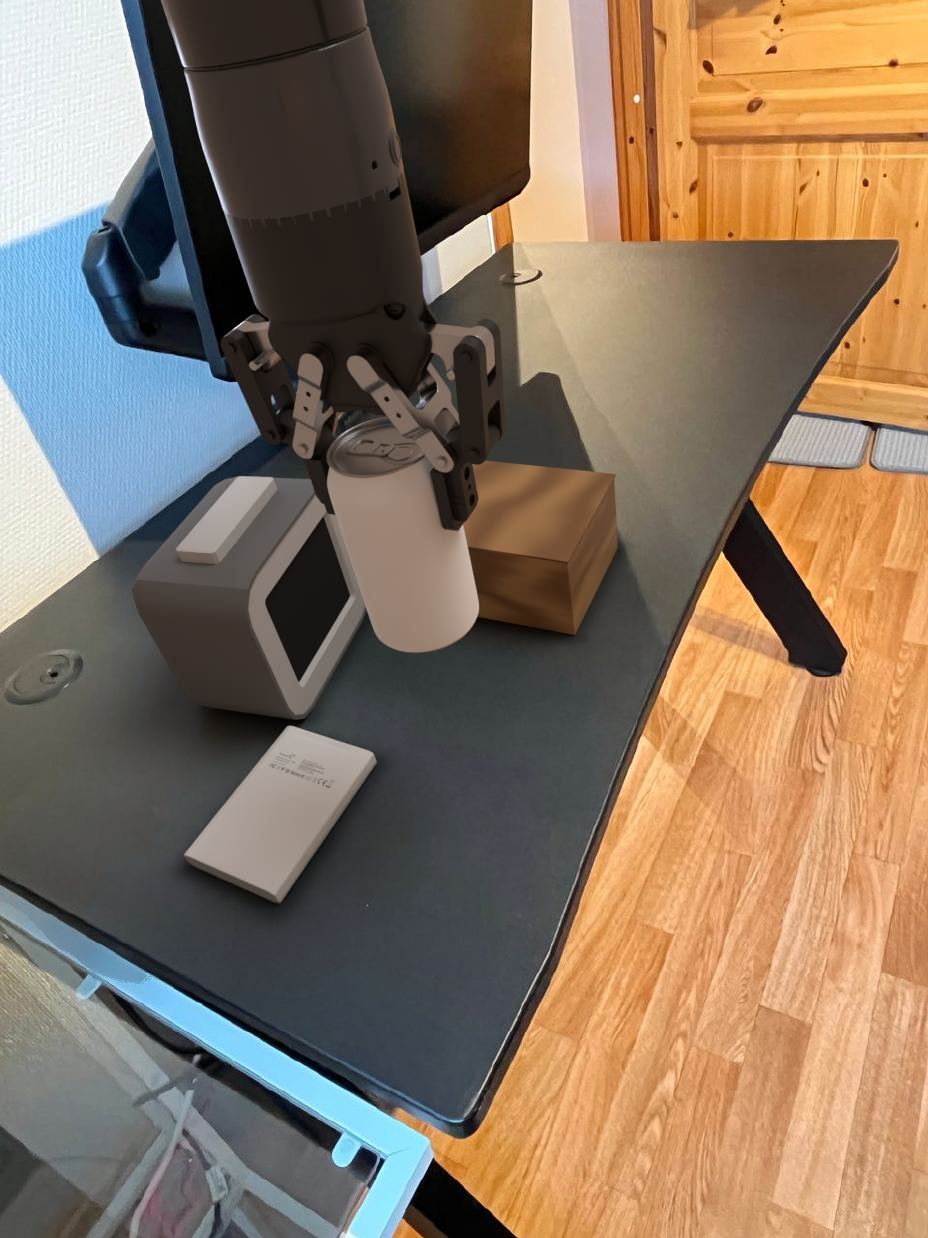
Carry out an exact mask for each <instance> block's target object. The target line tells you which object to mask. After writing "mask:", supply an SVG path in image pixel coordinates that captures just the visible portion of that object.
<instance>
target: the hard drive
mask: <svg viewBox="0 0 928 1238" xmlns="http://www.w3.org/2000/svg"><path fill="white" fill-rule="evenodd" d="M377 764H378V762H377V759H376V756H375V754H374V752H372V751H370V750H369V749H365V748H362V747H359V746H355V745H352V744H350V743H347V742H346V743H345V742H343V741H340V740H338V739H333V738H330V737H329V736H325V735H321V734H319V733H315V732H312V731H309V730H306V729H303V728H300V727H297V726H295V725H287V726H286V727H285V728H284V729H283V731H282V732H281V733H280V735H279V736H278V737H277V738H276V739H275V741H274V742H273V744H271V746H270V747H269V748H268V749H267V751H266V752H264V754H263V756H262V757H261V758H260V759H259V761H257V763H256V764H255V766H253V768H252V769H251V770H250V772H249V773H248V774H247V775H246V777H245V778H244V779H243V780H242V781H241V783H240V784H239V786H237V788H236V789H235V790H234V792H232V794H231V795H230V797H228V799H227V800H226V801H225V803H223V805H222V806H221V808H220V809H218V811H217V812H216V814H215V815H214V816H213V817H212V819H211V820H210V821H209V823H207V825H206V826H205V828H204V829H203V830H202V831H201V833H200V834H199V835H198V836H197V837H196V839H195V840H194V841H193V843H192V844H191V845H190V847H189V848H188V849H187V850H186V851H185V852H184V854H183V857H184V858H185V860H186V861H187V862H188V863H189V865H191V866H193V867H194V868H196V869H198V870H201V871H202V872H205V873H207V874H210V875H212V876H214V877H216V878H218V879H221V880H223V881H224V882H228V883H229V884H232V885H234V886H237V887H238V888H241V889H244V890H245V891H248V892H250V893H252V894H255V895H257V896H259V897H261V898H264V899H265V900H267V901H270V902H271V903H275V904H278V905H280V904H282V902H283V900H284V899H285V897H286V896H287V894H288V893H289V892H290V890H291V888H292V887H293V885H295V883H296V881H297V880H298V878H299V877H300V876H301V875H302V873H303V871H304V870H305V868H306V867H307V865H308V864H309V862H310V861H311V860H312V859H313V856H314V855H315V854H316V852H317V851H318V850H319V848H320V847H321V845H322V844H323V842H324V841H325V840H326V838H327V836H328V835H329V834H330V832H331V831H332V829H333V827H334V826H335V825H336V824H337V822H338V820H339V819H340V818H341V816H342V815H343V813H344V811H345V810H346V809H347V807H348V806H349V804H350V803H351V802H352V800H353V799H354V797H355V795H356V794H357V792H358V791H359V789H360V788H361V787H362V786H363V784H364V782H365V781H366V780H367V778H368V777H369V775H370V774H371V772H372V771H373V770H374V768H375V766H376V765H377Z"/></svg>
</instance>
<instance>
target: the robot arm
mask: <svg viewBox="0 0 928 1238" xmlns="http://www.w3.org/2000/svg"><path fill="white" fill-rule="evenodd" d="M160 2H161V4H162V5H161V6H162V8H163V11H164V14H165V17H166V20H167V24H168V27H169V29H170V32H171V35H172V37H173V41H174V45H175V47H176V50H177V53H178V57H179V60H180V62H181V64H182V66H183V67H184V69H183V73H184V76H185V79H186V83H187V87H188V91H189V95H190V99H191V105H192V109H193V110H192V111H193V116H194V120H195V124H196V128H197V129H196V130H197V132H198V137H199V140H200V143H201V147H202V151H203V153H204V156H205V160H206V163H207V166H208V169H209V172H210V174H211V178H212V181H213V183H214V187H215V190H216V192H217V195H218V198H219V201H220V205H221V208H222V211H223V213H224V216H225V220H226V222H227V225H228V228H229V231H230V235H231V237H232V241H233V243H234V246H235V249H236V252H237V255H238V258H239V261H240V264H241V267H242V270H243V273H244V276H245V278H246V282H247V285H248V288H249V290H250V291H249V292H250V293H251V296H252V300H253V302H254V305H255V307H256V309H257V310H258V312H259V313H260V314H261V315H262V316H263V317H262V316H261V315H260V314H256V313H255V314H251V315H250V316H248V317H247V318H246V319H245V320H243V321H242V322H241V323H240V324H238V325H236V327H234V328H233V329H231V331H229V332H227V334H225V335H224V336H223V337H221V339H220V347H221V350H222V352H223V354H224V357H225V358H226V361H227V363H228V365H229V367H230V369H231V372H232V374H233V376H234V378H235V381H236V383H237V385H238V387H239V389H240V392H241V394H242V396H243V398H244V400H245V403H246V405H247V407H248V409H249V411H250V414H251V416H252V418H253V421H254V423H255V425H256V428H257V429H258V431H259V433H260V436H261V437H262V439H263V440H264V442H266V443H267V444H269V445H271V446H278V445H279V444H280V443H283V444H286V445H287V446H290V447H292V449H293V451H294V452H295V454H296V455H297V456H299V457H300V458H302V460H303V461H304V465H305V467H306V470H307V473H308V476H309V479H311V482H312V485H313V486H314V487H313V488H314V491H315V494H316V496H317V498H318V499H319V501H320V502H321V503H322V504H324V505H325V508H326V511H327V513H328V514H332V515H335V512H334V509H333V505H332V502H331V499H330V495H329V492H328V487H327V477H328V472H329V467H330V466H329V465H328V463H327V459H326V454H327V450H328V448H329V446H330V445H331V443H332V442H333V441H334V440H335V439H336V438H337V437H334V434H335V433H336V431H337V428H338V424H339V419H340V415H341V413H347V414H348V413H351V412H355V411H363V412H365V413H368V414H372V415H376V416H385V417H388V418H389V420H390V421H391V422H392V424H393V425H394V426H395V428H396V429H397V430H398V432H399V433H400V434H401V435H402V436H403V437H404V438H411V439H413V440H414V441H415V443H416V444H417V445H418V447H419V448H420V449H421V451H422V452H423V453H424V455H425V456H426V457H427V459H428V460H429V461H430V463H431V464H432V465H433V467H434V468H433V469H432V470H431V472H430V474H431V479H432V483H433V488H434V492H435V496H436V501H437V505H438V510H439V514H440V519H441V523H442V527H443V529H445V530H453V531H458V530H459V529H460V528H461V526H462V525H463V523H464V522H466V521H467V519H468V518H469V516H470V515H471V513H472V512H473V510H474V509H475V507H476V506H477V502H478V499H479V498H478V492H477V489H476V488H477V487H476V483H475V476H474V471H473V465H472V464H475V465H479V464H482V463H483V462H484V461H487V459H488V457H489V455H490V452H491V451H492V450H493V448H494V447H495V445H497V444H498V442H499V441H500V440H501V439H502V437H503V436H504V434H505V433H506V420H505V419H506V417H505V416H506V415H505V399H504V379H503V377H504V376H503V360H502V359H503V358H502V338H501V330H500V327H499V326H498V324H497V323H496V322H495V321H494V320H492V319H490V318H482V319H479V320H478V321H477V322H476V323H475V325H473V327H467V326H458V325H450V324H441V323H440V322H439V320H438V318H437V316H436V315H435V314H434V312H433V311H432V309H431V307H430V306H429V304H428V302H427V300H426V298H425V294H424V273H423V272H424V270H423V269H424V268H423V261H422V256H421V250H420V246H419V240H418V236H417V229H416V225H415V220H414V216H413V215H414V214H413V210H412V204H411V199H410V194H409V189H408V184H407V178H406V175H405V174H406V173H405V169H404V164H403V158H402V156H403V155H402V154H403V152H402V145H401V140H400V136H399V135H398V133H397V127H396V123H395V117H394V112H393V108H392V103H391V98H390V94H389V90H388V87H387V83H386V81H385V77H384V74H383V70H382V68H381V65H380V61H379V59H378V55H377V52H376V48H375V46H374V42H373V38H372V34H371V29H370V27H369V26H368V18H367V12H366V7H365V3H364V2H365V1H364V0H160ZM265 318H266V319H268V321H267V320H266V319H265ZM435 355H436V356H438V357H439V358H440V359H441V360H442V362H443V363H444V367H445V370H446V372H445V377H446V379H448V380H449V381H452V382H455V391H456V392H455V393H456V402H457V403H456V404H457V409H456V408H455V406H454V405H453V403H452V392H451V390H450V388H449V387H448V385H447V384H446V382H445V380H444V379H443V378H442V377H441V375H440V374H439V372H438V371H437V370H436V368H435V367H434V366H433V364H432V362H431V361H432V360H433V358H434V356H435ZM286 365H287V366H288V367H289V368H290V369H291V370H292V371H293V372H294V374H296V375H297V377H298V382H297V389H295V386H294V384H293V382H292V381H293V380H292V379H291V377H290V374H289V372H288V369H287V367H286ZM416 391H417V392H418V395H419V402H418V403H417V404H416V406H414V405H413V404H412V402H411V401H410V398H411V397H413V395H414V394H415V392H416ZM272 398H273V400H274V402H275V404H276V407H277V409H278V410H276V409H275V406H274V404H273V401H272Z"/></svg>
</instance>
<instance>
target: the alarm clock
mask: <svg viewBox="0 0 928 1238" xmlns="http://www.w3.org/2000/svg"><path fill="white" fill-rule="evenodd" d="M313 487H314V486H313V485H312V482H311V479H310V478H291V477H290V478H287V477H284V478H283V477H272V476H252V475H251V476H245V475H239V476H233V477H229V478H225V479H223V480H221V481H220V482H218V483H216V484H214V485H213V487H212V488H211V489H210V490H209V491H208V492H207V493H206V494H205V495H204V497H203V498H202V499H201V500H200V501H199V502H198V504H197V505H196V506H194V508H193V509H192V511H190V512H189V513H188V515H187V516H186V517H185V518H184V520H183V521H182V522H181V523H180V524H179V525H178V526H177V527H176V528H175V530H173V532H172V533H171V534H170V535H169V536H168V537H167V538H166V540H165V541H164V542H163V543H162V545H160V547H159V548H158V549H157V550H156V551H155V552H154V553H153V555H151V557H150V558H149V559H148V560H147V561H146V563H145V564H144V565H143V566H142V568H141V569H140V572H139V573H138V575H137V577H136V579H135V581H134V583H133V584H132V585H133V586H132V588H131V592H132V595H133V597H132V598H133V600H134V604H135V607H136V610H137V614H138V615H139V617H140V619H141V621H142V623H143V624H144V626H145V628H146V630H147V631H148V633H149V635H150V636H151V638H152V640H153V641H154V643H155V646H156V647H157V648H158V650H159V652H160V654H161V656H162V657H163V660H164V661H165V662H166V664H167V666H168V668H169V669H170V672H171V673H172V676H173V677H174V679H175V680H176V682H177V683H178V686H179V687H180V689H181V691H182V692H183V694H184V695H185V696H187V697H188V698H189V699H190V700H191V702H193V703H195V704H198V705H201V706H203V707H205V708H210V709H211V708H213V709H218V710H225V711H226V710H227V711H231V712H232V711H233V712H239V713H245V714H254V715H260V716H268V717H274V718H281V719H287V720H293V721H294V720H296V721H297V720H302V719H306V718H307V717H308V716H309V714H311V712H312V711H313V710H314V709H315V706H316V705H317V704H318V702H319V700H320V698H321V697H322V695H323V693H324V692H325V689H326V687H327V685H328V684H329V682H330V680H331V679H332V677H333V675H334V673H335V672H336V670H337V668H338V666H339V664H340V662H341V661H342V659H343V657H344V655H345V654H346V652H347V650H348V648H349V646H350V644H351V643H352V641H353V640H354V637H355V636H356V634H357V632H358V631H359V629H360V627H361V626H362V623H363V622H364V619H365V617H366V614H367V609H366V606H365V603H364V600H363V597H362V594H361V591H360V588H359V585H358V582H357V579H356V576H355V573H354V570H353V567H352V564H351V561H350V558H349V555H348V552H347V549H346V546H345V543H344V539H343V536H342V533H341V530H340V527H339V524H338V521H337V518H336V515H332V514H328V513H327V511H326V508H325V505H324V504H322V503H321V502H320V501H319V499H318V498H317V496H316V494H315V491H314V488H313Z"/></svg>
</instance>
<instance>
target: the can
mask: <svg viewBox="0 0 928 1238" xmlns="http://www.w3.org/2000/svg"><path fill="white" fill-rule="evenodd" d="M335 438H336V439H335V440H334V441H333V442H332V443H331V445H330V446H329V448H328V450H327V454H326V459H327V463H328V465H329V466H330V467H329V472H328V477H327V487H328V492H329V495H330V499H331V502H332V505H333V509H334V512H335V515H336V518H337V521H338V524H339V527H340V530H341V533H342V536H343V539H344V543H345V546H346V549H347V552H348V555H349V558H350V561H351V564H352V567H353V570H354V573H355V576H356V579H357V582H358V585H359V588H360V591H361V594H362V597H363V600H364V603H365V606H366V609H367V611H366V613H367V615H368V619H369V621H370V624H371V627H372V628H373V632H374V634H375V636H376V637H377V639H378V640H379V641H380V642H381V643H382V644H384V645H385V646H387V647H388V648H391V649H393V650H396V651H399V652H402V653H407V654H428V653H432V652H433V653H434V652H438V651H440V650H443V649H446V648H449V647H450V646H452V645H454V644H455V643H457V642H459V641H460V640H461V639H462V638H464V637H465V636H466V635H467V634H468V632H469V631H470V630H471V629H472V627H473V626H474V624H475V623H476V620H477V618H478V617H477V616H478V612H479V601H478V596H477V591H476V585H475V580H474V576H473V571H472V566H471V561H470V556H469V551H468V546H467V541H466V537H465V532H464V527H463V525H462V526H461V528H460V529H459V530H458V531H453V530H445V529H443V527H442V523H441V519H440V514H439V510H438V505H437V501H436V496H435V492H434V488H433V483H432V479H431V474H430V472H431V470H432V469H433V468H434V467H433V465H432V464H431V463H430V461H429V460H428V459H427V457H426V456H425V455H424V453H423V452H422V451H421V449H420V448H419V447H418V445H417V444H416V443H415V441H414V440H413V439H411V438H404V437H403V436H402V435H401V434H400V433H399V432H398V430H397V429H396V428H395V426H394V425H393V424H392V422H391V421H390V420H389V418H388V417H387V416H384V417H383V416H382V417H377V418H374V419H370V420H366V421H363V422H361V423H358V424H356V425H354V426H352V427H350V428H348V429H346V430H345V431H343V432H342V433H341V434H339V435H338V436H337V437H335Z"/></svg>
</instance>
